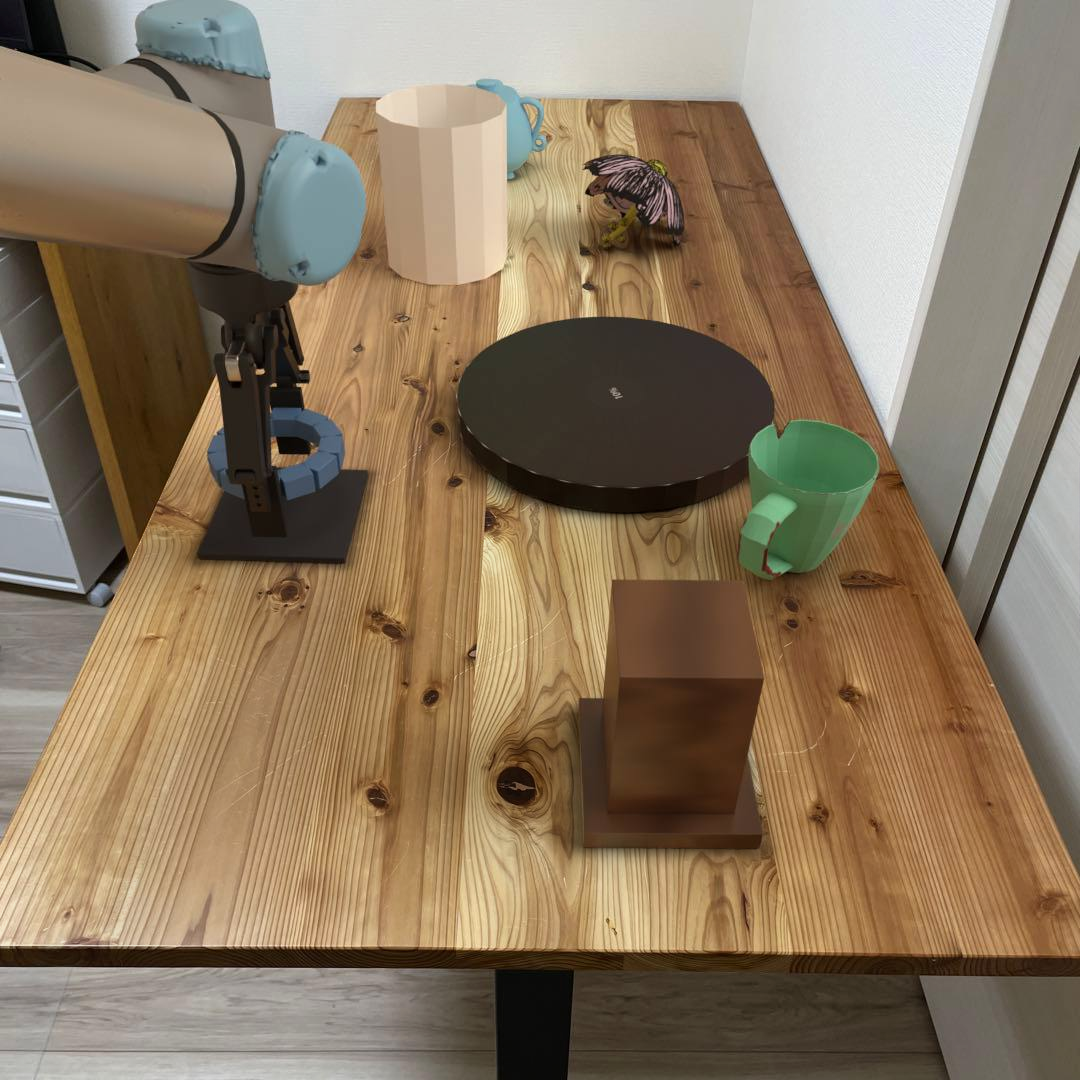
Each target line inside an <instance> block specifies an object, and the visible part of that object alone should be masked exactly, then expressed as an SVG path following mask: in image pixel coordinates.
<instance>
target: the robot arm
mask: <svg viewBox="0 0 1080 1080" xmlns="http://www.w3.org/2000/svg"><path fill="white" fill-rule="evenodd" d="M259 26H260V25H259V23H258V20H257V18H256V17H255V15H254V13H253V12H252V11H251V10H250V9H249V8H248V7H246V6H245V5H243V4H241V3H239V2H237V1H234V0H163V1H159V2H155V3H153V4H150V5H148V6H146V8H144V9H143V10H141V11H140V12H139V13H138V14H137V15H136V18H135V20H134V30H135V36H136V42H135V44H134V45H135V47H136V49H137V52H138V54H139V55H137V56H135V57H132V58H129V59H127V60H126V61H124V62H123V63H120V64H118V65H115V66H112V67H111V66H110V67H108V68H105V69H102V70H97V71H95V72H88V71H85V70H82V69H78V68H76V67H71V66H69V65H65V64H62V63H59V62H55V61H52V60H48V59H45V58H41V57H38V56H35V55H31V54H28V53H25V52H21V51H18V50H16V49H11V48H8V47H4V46H1V45H0V238H5V239H13V240H23V241H31V242H40V243H49V244H57V245H64V246H72V247H73V246H74V247H82V248H90V249H99V250H107V251H115V252H124V253H132V254H140V255H141V254H142V255H147V256H148V255H150V256H157V257H167V258H173V259H177V260H181V261H182V260H183V261H185V264H186V268H187V273H188V277H189V283H190V287H191V291H192V295H193V298H194V300H195V301H196V302H197V304H198V305H199V306H201V307H202V308H203V309H205V310H207V311H209V312H212V313H214V314H216V315H218V316H219V317H220V318H221V319H223V321H224V323H223V324H221V326H220V344H221V346H222V348H223V350H224V352H215V353H214V356H213V366H214V370H215V374H216V378H217V383H218V387H219V396H220V406H221V408H220V409H221V416H222V427H224V436H225V445H226V455H227V464H228V469H225V470H226V475H227V476H228V478H229V482H230V484H242V489H243V493H244V498H245V503H246V507H247V512H248V517H249V521H250V526H251V531H252V536H253V537H287V535H288V526H287V521H286V515H285V510H284V504H283V499H282V494H281V488H280V483H279V477H278V472H277V465H273V464H272V438H271V423H270V412H271V413H272V410H273V408H301V410H302V411H303V410H305V409H306V408H305V402H304V401H305V400H304V396H303V388H302V386H298V384H299V385H300V384H301V385H307V384H308V385H309V384H310V381H311V373H310V372H311V371H310V369H300V367H302V366H304V362H305V355H304V352H303V348H302V346H301V341H300V337H299V334H298V330H297V326H296V323H295V318H294V315H293V311H292V308H291V304H290V301H291V300H292V299H293V298H294V297H295V296H296V294H297V292H298V289H299V285H300V286H306V287H313V286H320V285H323V284H326V283H327V282H329V281H331V280H333V279H335V277H337V276H338V275H340V273H342V272H343V271H344V269H346V268H347V266H348V265H349V264H350V262H351V261H352V259H353V257H354V256H355V253H356V252H357V249H358V247H359V245H360V242H361V240H362V236H363V233H362V232H363V231H362V230H363V227H364V220H365V218H366V215H367V195H366V189H365V188H366V187H365V183H364V181H363V177H362V174H361V172H360V170H359V168H358V165H357V164H356V163H355V161H354V160H353V158H351V156H350V155H349V154H348V153H347V152H346V151H345V150H344V149H342V148H341V147H338V146H337V145H335V144H332V143H330V142H327V141H324V140H321V139H317V138H314V137H312V136H310V135H309V134H307V133H305V132H302V131H298V130H295V129H290V130H285V129H281V128H277V127H276V120H275V113H274V105H273V96H272V89H271V80H272V79H271V72H270V70H269V67H268V62H267V57H266V54H265V49H264V44H263V40H262V36H261V31H260V27H259ZM258 370H260V371H261V370H263V373H260V374H259V373H258V374H257V371H258ZM273 384H275V385H276V386H273ZM275 441H276V446H277V451H278V455H291V456H292V455H299V456H300V455H305V456H308V455H310V456H311V451H312V446H311V442H310V441H307V440H304V439H302V438H299V437H275Z"/></svg>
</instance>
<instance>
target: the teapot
mask: <svg viewBox="0 0 1080 1080" xmlns="http://www.w3.org/2000/svg"><path fill="white" fill-rule="evenodd" d="M466 86H470V87H476V88H480V89H483V90H486V91H489V92H492V93H495V94H497V95H498V96H499V97H500V98H501V99H502V100H503V101H504V102H505V103H506V104H507V180H511V179H514V178H515V174H514V171H516V170H518V169H520V168H521V167H523V165H524V164H525V163H526V162H527V160H528V159H529V157H530V155H531V154H532V152H535V153H538V152H539V153H541V152H543V151H544V150H545V149H547V144H548V141H547V139H546V137H545V136H544V135H543V134H540V131H541V128H542V125H543V121H544V117H545V108H544V106H543V104H542V103H541V102H540V101H539V100H538V99H537V98H534V97H532V96H522V97H520V95H519V93H518V91H517V90H516V88H514V87H512V86H510V85H505V84H504V83H503V81H502V80H501V79H500V80H499V79H494V78H479V79H478V80H476V81H475V83H473V84H468V85H466ZM525 105H530V106H533V107H534V108H536V111H537V117H536V121H535V125H534V128H532V123H531V121H530V117H529V115H528V112H527V109H526V107H525ZM537 141H540V143H541V144H537Z"/></svg>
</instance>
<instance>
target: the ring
mask: <svg viewBox="0 0 1080 1080" xmlns="http://www.w3.org/2000/svg"><path fill="white" fill-rule="evenodd" d="M270 423H271V439H272V438H276V437H299V438H302V439H304V440H307V441H310V443H313V444H315V445H316V447H317V450H316V451H315V452H314V453H313V454H310V456H309V457H308V458H306V459H305V460H304V461H302V462H300V463H297V464H294V465H290V466H287V467H282V468H283V469H280V470H277V472H278V477H279V483H280V488H281V494H282V497H283V495H284V497H285V498H286V500H291V499H294V498H297V497H300V496H303V495H306V494H310V493H313V492H316V490H315V487H317V488H319V489H321V488H322V487H323V486H325V485H326V484H327V483H328V482H329V481H331V480H332V479H333V478H334V477H335V476H337V475H338V474H339V471H338V470H341V469H343V464H344V460H345V457H346V456H345V455H346V449H345V442H344V436H343V432H342V431H341V429H340V428H339V427H338V426H337V424H336V423H335V421H334V420H333V419H332V418H330V419H329V416H328V415H325V414H322V413H320V412H317V411H314V410H311V409H308V408H305V410H303V411H302V410H301V408H273V410H272V413H271V411H270ZM206 458H207V463H208V467H209V471H210V474H211V475H212V477H213V478H214V480H215V482H216V484H217V486H218V488H219V489H222V491H223V492H224V491H225V492H228V493H230V494H233V495H235V496H237V497H240V498H242V499H245V498H244V493H243V489H242V484H230V482H229V478H228V476H227V475H226V470H225V469H228V464H227V455H226V445H225V436H224V426H222V427H221V428H220V429H219V430H217V431H216V434H213V436H212V438H211V440H210V443H209V445H208V448H207V450H206Z"/></svg>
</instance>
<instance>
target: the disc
mask: <svg viewBox="0 0 1080 1080" xmlns="http://www.w3.org/2000/svg"><path fill="white" fill-rule="evenodd" d="M455 397H456V403H457V410H458V425H459V431H460V437H461V439H462V441H463V443H464V445H465V447H466V449H467V450H468V452H469V454H470V455H471V456H472V457H473V459H475V461H476V462H477V463H478V464H479V465H480V466H481V467H482V468H483V469H484V470H485V471H487V472H488V473H489V474H491V476H494V477H495V478H497V479H498V480H499V481H501V482H502V483H504V484H505V485H506V486H509V487H511V488H513V489H515V490H518V491H519V492H522V493H524V494H526V495H529V496H530V497H533V498H536V499H540V500H543V501H546V502H550V503H553V504H557V505H559V506H564V507H569V508H576V509H581V510H587V511H594V512H612V513H613V512H614V513H640V512H650V511H651V512H653V511H665V510H668V509H673V508H678V507H683V506H687V505H692V504H695V503H698V502H701V501H704V500H707V499H708V498H712V497H714V496H716V495H719V494H721V493H723V492H725V491H727V490H729V489H730V488H731V487H733V486H734V485H736V484H738V483H739V482H741V481H743V480H744V479H745V478H746V477H747V476H748V475H749V447H750V443H751V441H752V440H753V438H754V436H755V435H756V434H757V433H758V432H760V431H761V430H762V429H764V428H765V427H767V426H769V425H773V424H774V418H775V410H776V403H775V402H776V401H775V398H774V394H773V389H772V387H771V386H770V384H769V382H768V381H767V379H766V377H765V376H764V374H763V373H762V371H761V370H760V369H759V368H758V367H757V366H756V365H754V363H753V362H752V361H751V360H750V359H749V358H748V357H746V355H743V354H741V353H740V352H739V351H737V350H736V349H734V348H733V347H731V346H730V345H728V344H727V343H725V342H722V341H720V340H718V339H716V338H714V337H712V336H710V335H708V334H705V333H702V332H699V331H695V330H693V329H690V328H688V327H684V326H681V325H676V324H673V323H669V322H668V323H667V322H663V321H658V320H653V319H645V318H637V317H629V316H604V315H603V316H601V315H600V316H586V317H571V318H565V319H559V320H554V321H548V322H543V323H540V324H536V325H532V326H530V327H526V328H522V329H520V330H517V331H515V332H513V333H510V334H508V335H506V336H504V337H502V338H500V339H498V340H496V341H495V342H493V343H491V344H490V345H488V346H487V347H486V348H484V349H482V350H481V351H480V352H479V353H478V354H477V355H476V356H475V357H474V358H473V359H472V360H471V361H470V362H469V363H468V364H467V366H466V368H465V369H464V371H463V373H462V375H461V376H460V378H459V381H458V385H457V390H456V395H455Z"/></svg>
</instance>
